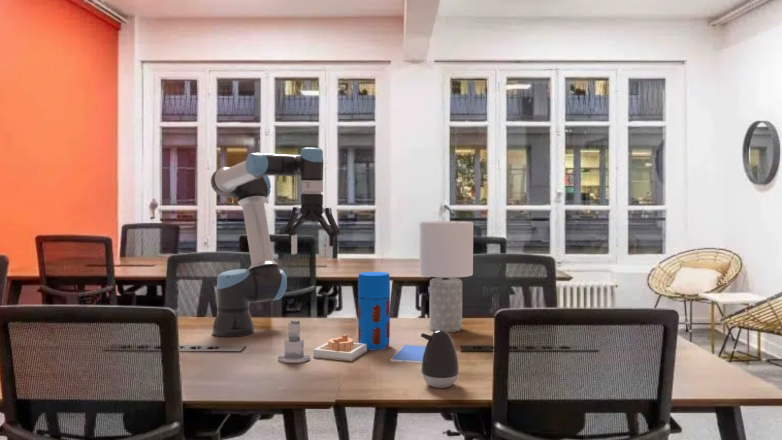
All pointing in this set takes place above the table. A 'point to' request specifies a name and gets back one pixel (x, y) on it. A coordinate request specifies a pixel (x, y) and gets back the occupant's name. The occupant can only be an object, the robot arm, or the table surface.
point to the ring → (340, 344)
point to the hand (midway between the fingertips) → (311, 255)
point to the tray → (340, 352)
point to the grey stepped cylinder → (294, 346)
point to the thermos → (374, 309)
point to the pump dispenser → (439, 360)
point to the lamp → (446, 269)
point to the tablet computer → (409, 354)
